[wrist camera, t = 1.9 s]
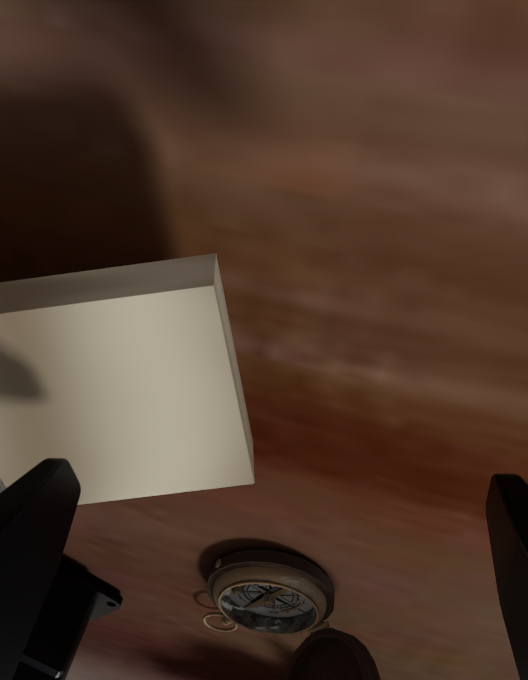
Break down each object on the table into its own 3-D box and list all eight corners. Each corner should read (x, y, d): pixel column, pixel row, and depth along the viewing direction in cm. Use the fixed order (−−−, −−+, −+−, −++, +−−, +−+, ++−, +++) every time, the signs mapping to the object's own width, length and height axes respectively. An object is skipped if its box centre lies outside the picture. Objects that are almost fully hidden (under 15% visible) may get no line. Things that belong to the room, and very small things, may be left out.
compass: (260, 526, 22) (227, 724, 16) (385, 602, 24) (397, 801, 18) (165, 584, 26) (112, 759, 20) (280, 645, 28) (262, 818, 22)
